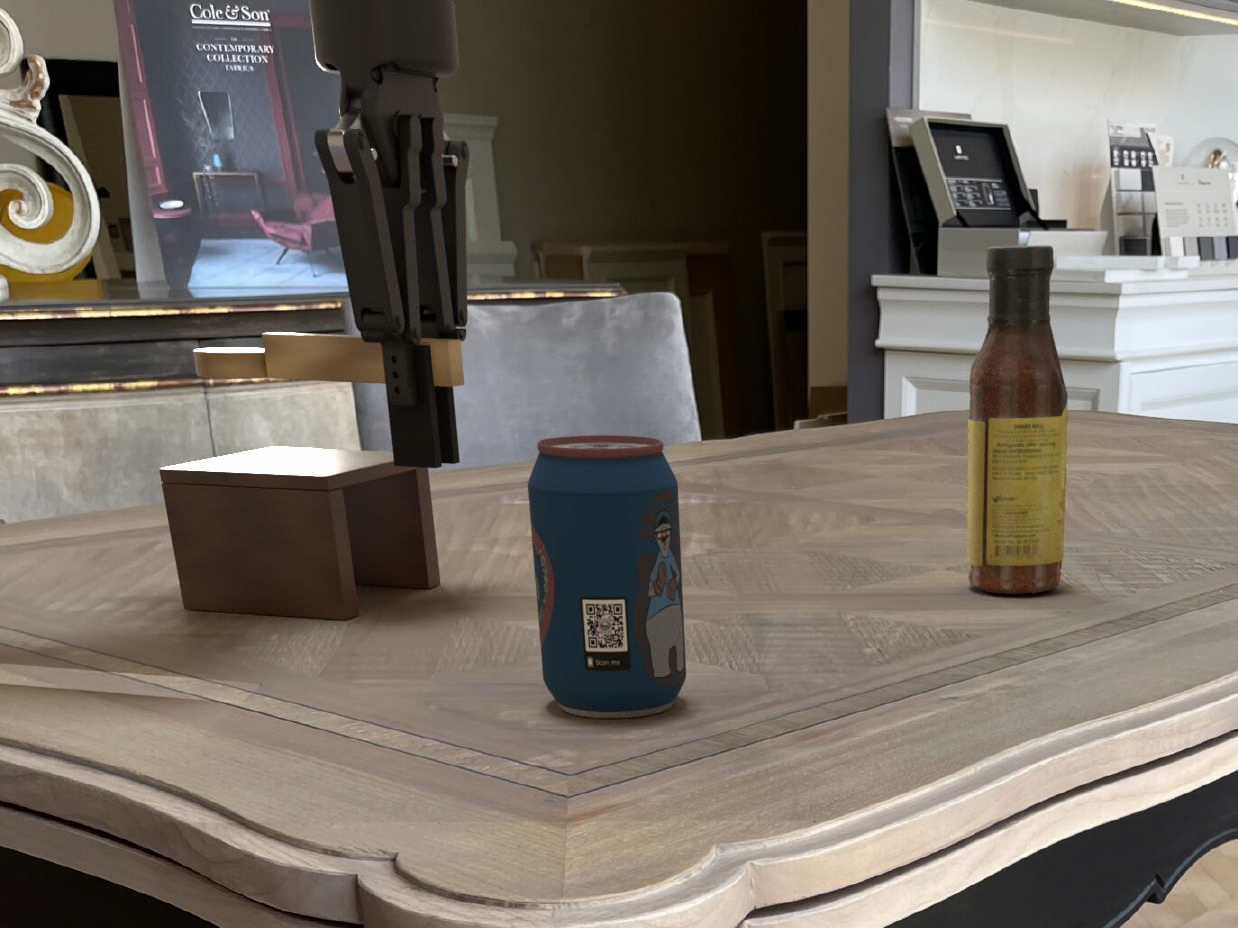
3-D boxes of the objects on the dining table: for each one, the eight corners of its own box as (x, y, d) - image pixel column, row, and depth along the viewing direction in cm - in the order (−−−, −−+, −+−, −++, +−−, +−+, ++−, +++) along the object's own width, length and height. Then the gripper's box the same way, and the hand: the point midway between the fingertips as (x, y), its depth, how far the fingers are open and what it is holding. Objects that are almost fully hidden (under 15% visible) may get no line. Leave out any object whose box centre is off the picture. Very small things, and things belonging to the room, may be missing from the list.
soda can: (554, 687, 86) (534, 433, 81) (690, 687, 87) (680, 433, 81) (536, 722, 80) (513, 449, 75) (683, 721, 81) (671, 450, 75)
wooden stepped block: (180, 376, 100) (173, 331, 99) (226, 371, 104) (219, 328, 103) (439, 388, 96) (435, 342, 95) (476, 382, 100) (472, 338, 99)
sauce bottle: (1080, 589, 111) (1103, 245, 101) (1017, 601, 107) (1035, 245, 98) (1005, 575, 115) (1020, 244, 106) (942, 587, 111) (952, 244, 102)
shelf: (183, 609, 103) (158, 468, 99) (291, 575, 113) (272, 446, 109) (345, 620, 100) (326, 476, 97) (441, 584, 111) (426, 452, 107)
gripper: (374, -34, 83) (425, 482, 94) (506, 2, 95) (537, 454, 106) (238, -32, 84) (304, 475, 95) (385, 3, 97) (428, 448, 108)
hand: (427, 463), depth 101 cm, fingers closed on wooden stepped block, 2 cm apart
